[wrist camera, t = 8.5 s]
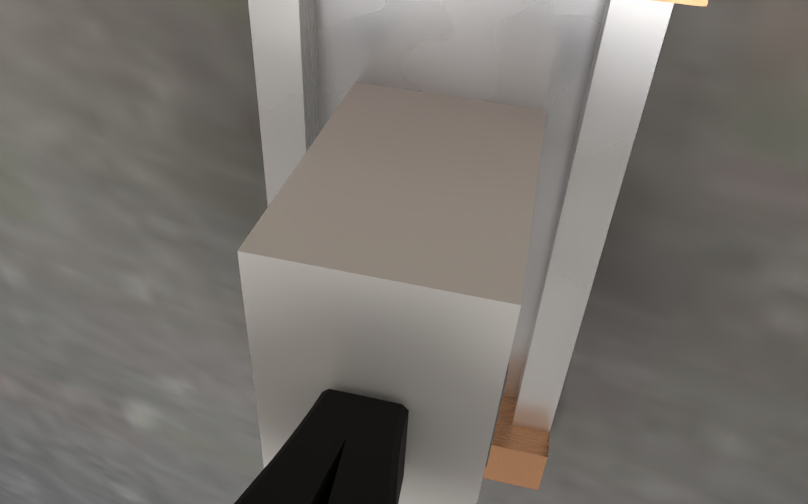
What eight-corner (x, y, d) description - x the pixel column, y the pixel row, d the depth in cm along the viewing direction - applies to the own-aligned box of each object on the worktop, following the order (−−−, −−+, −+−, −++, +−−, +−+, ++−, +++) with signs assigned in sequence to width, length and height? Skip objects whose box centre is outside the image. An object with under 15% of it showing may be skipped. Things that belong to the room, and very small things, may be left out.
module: (504, 324, 17) (471, 541, 13) (350, 294, 18) (264, 491, 13) (548, 110, 13) (525, 305, 9) (353, 81, 14) (234, 250, 9)
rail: (542, 431, 20) (532, 567, 17) (301, 380, 21) (246, 499, 18) (707, -161, 11) (757, -116, 7) (259, -196, 12) (128, -171, 8)
